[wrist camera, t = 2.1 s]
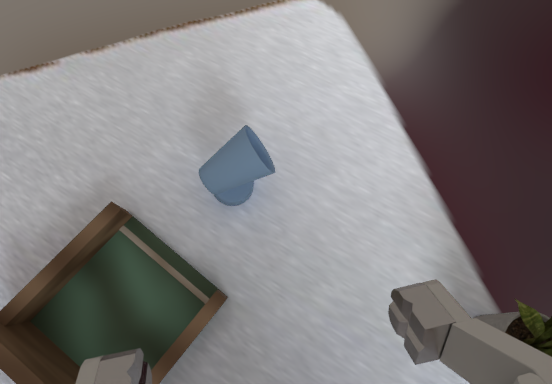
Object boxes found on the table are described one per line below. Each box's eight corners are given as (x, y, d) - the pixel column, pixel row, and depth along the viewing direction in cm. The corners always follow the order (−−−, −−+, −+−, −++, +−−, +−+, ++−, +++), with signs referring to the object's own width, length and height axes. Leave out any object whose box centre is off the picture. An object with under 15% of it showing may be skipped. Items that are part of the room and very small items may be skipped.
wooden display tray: (125, 210, 34) (103, 196, 29) (227, 297, 33) (225, 300, 28) (14, 322, 31) (-38, 332, 25) (125, 424, 30) (98, 460, 24)
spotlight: (254, 153, 38) (198, 178, 36) (259, 109, 28) (183, 141, 27) (273, 190, 37) (217, 217, 35) (286, 159, 27) (210, 194, 26)
